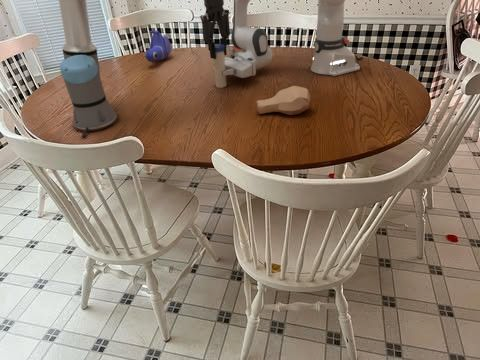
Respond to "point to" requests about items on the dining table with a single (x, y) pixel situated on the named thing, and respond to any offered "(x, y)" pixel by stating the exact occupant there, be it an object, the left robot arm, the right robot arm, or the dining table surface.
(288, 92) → the squash
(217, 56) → the jar
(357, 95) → the dining table surface
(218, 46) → the lid
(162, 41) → the toy
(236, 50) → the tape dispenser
